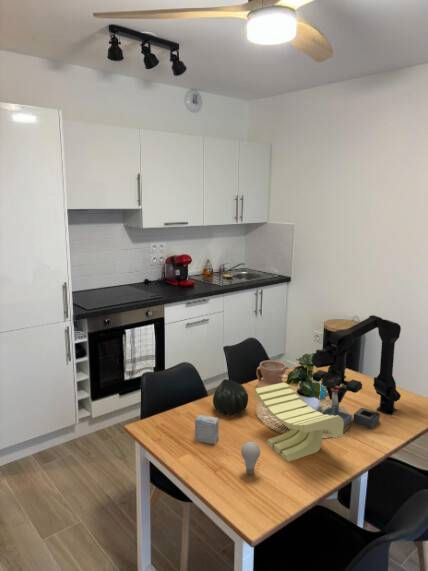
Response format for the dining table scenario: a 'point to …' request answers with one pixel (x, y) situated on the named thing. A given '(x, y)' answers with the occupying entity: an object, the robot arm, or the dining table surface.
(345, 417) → the tray
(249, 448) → the lightbulb
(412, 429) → the dining table surface
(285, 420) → the slatted curved stool
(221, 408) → the squash
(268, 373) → the ceramic jug
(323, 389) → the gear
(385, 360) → the robot arm
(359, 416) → the hitch block
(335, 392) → the pin
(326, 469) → the dining table surface
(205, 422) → the medicine box
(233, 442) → the dining table surface
